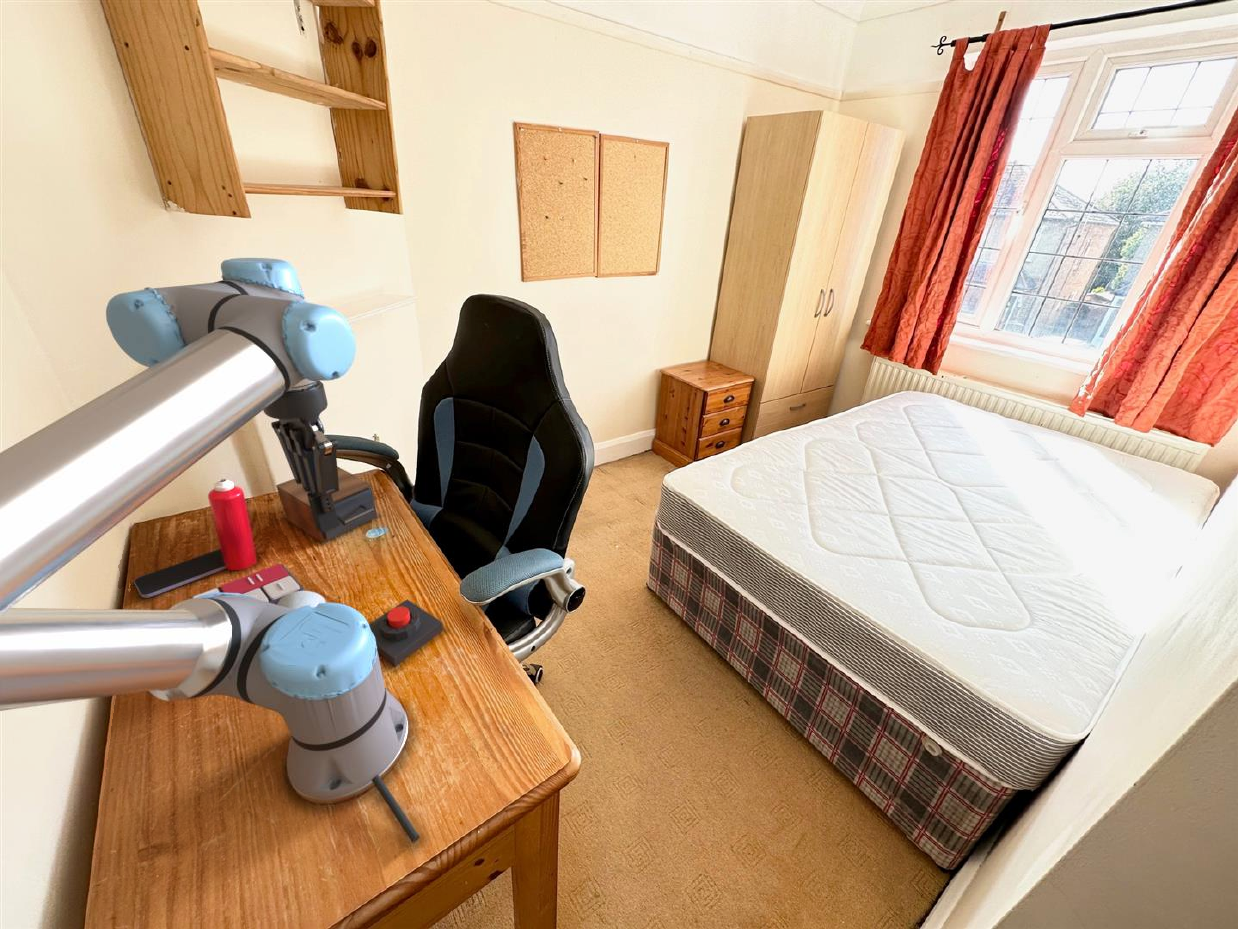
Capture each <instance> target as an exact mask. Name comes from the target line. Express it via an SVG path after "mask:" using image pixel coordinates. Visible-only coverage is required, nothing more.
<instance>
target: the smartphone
mask: <svg viewBox="0 0 1238 929" xmlns="http://www.w3.org/2000/svg"><path fill="white" fill-rule="evenodd" d="M226 569H227V568H226V567H225V564H224V560H223V556H222V552H221V548H218V549H215V550H213V551H210V552H207V553H204V554H201V555H198V556H196V557H192V558H190V559H187V560H184V561H181V562H178V563H176V564H172V565H169V566H167V567H164V568H160V569H158V570H155V571H152V572H149V573H146V574H144V575H141V576H138V577H137V578H135V579H134V580H133V583H134V585H135V588H136V589H137V592H138V594H139V595H140V596H141V598H142V599H149V598H151V597H155V596H158V595H161V594H162V593H165V592H168V591H170V590H171V591H172V590H173V589H176V588H178V587H181V586H184V585H186V584H189V583H192V582H195V581H197V580H200V579H202V578H205V577H208V576H210V575H213V574H215V573H219V572H220V571H223V570H226ZM227 570H228V569H227Z"/></svg>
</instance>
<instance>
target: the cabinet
mask: <svg viewBox="0 0 1238 929" xmlns="http://www.w3.org/2000/svg"><path fill="white" fill-rule="evenodd" d="M337 469H338V481H339V491H338V492H336V493H333V494H332V498H333V502H336V501H338V500H340V499H343V498H345V497H347V496H350V495H352V494H354V493H357V492H359V491H362V490H365V489H368V488H370V489H372V485H371V483H370V482H368V481H366V480H364V479H362V478H361V477H359V476H357V475H354V474H352V473H351V472H349V471H347V470H346V469H343V468H341V467H340V466H338V465H337ZM275 486H276V489H277V492H278V496H279V499H280V500H279V501H280V503H281V506H282V509H283V513H284V515H285V519H286V520H287V521H288V522H290V523H291V524H293V525H295V526H296V527H298V528H299V529H300V530H302V531H304V532H305V533H306V534H308V535H310V536H311V537H313V538H314V539H315V540H317V541H319V542H320V543H321V544H324V543H326V542H328V541H330V540H331V539H329V540H326V539H324V535H323V533H321V532H320V531H318V530H317V528H316V525H315V521H314V518H313V514H312V510H311V507H310V503H309V500H308V496H307V494H308V492H305V491H304V490H303V487H302V484H299V485H298V484H297V483H296V481H295V478H292V479H289V480H287V481H284V482H280V483H279V484H276V485H275ZM376 518H377V517H375V518H373V519H376ZM373 519H372V520H373ZM356 527H358V526H356ZM356 527H354V528H352V529H350V530H353V529H355V528H356ZM350 530H348V531H346V532H344V533H343V534H345V533H347V532H349V531H350Z"/></svg>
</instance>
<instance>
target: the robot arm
mask: <svg viewBox="0 0 1238 929" xmlns="http://www.w3.org/2000/svg"><path fill="white" fill-rule="evenodd" d="M220 270H221V276H220V277H221V279H222V280H217V281H214V282H205V283H197V284H196V283H194V284H187V285H186V284H185V285H184V284H183V285H176V286H174V285H173V286H165V287H155V288H153V287H150V286H148V287H144V288H143V289H139V290H133V291H127V292H121V293H118V294H116V295H114V296H113V297H111V298H110V299H109V301H108V302H107V305H106V308H105V318H106V323H107V326H108V328H109V331H110V333H111V335H112V338H113V339H114V341H115V342H116V344H117V345H118V347H119V348H120V349H121V350H122V351H123V352H124V353H125V354H126V355H127V356H128V357H129V358H131V359H132V360H133V361H134V362H136V363H137V364H139V365H141V366H143V367H145V368H146V369H144V370H142V371H141V372H139V373H137V374H136V375H134V376H132V377H130V378H129V379H127V380H124V381H123V382H121V383H119V384H118V385H116V386H114V387H112V388H110V389H109V390H108V391H106V392H104V393H102V394H101V395H98V396H97V397H96V398H93V399H92V400H90V401H88V402H87V403H85V404H83V405H81V406H79V407H78V408H75V409H74V410H72V411H71V412H69V413H67V414H66V415H63V416H62V417H60V418H58V419H57V420H54V421H53V422H51V423H50V424H48V425H46V426H45V427H43V428H41V429H39V430H37V431H36V432H34V433H33V434H31V435H29V436H27V437H25V438H23V439H21V440H20V441H18V442H16V443H15V444H13V445H11V446H10V447H8V448H6V449H4V450H3V451H0V712H3V711H10V710H18V709H26V708H32V707H40V706H41V707H42V706H49V705H54V704H55V705H56V704H63V703H69V702H77V701H84V700H85V701H86V700H92V699H99V698H106V697H113V696H120V695H127V694H129V695H130V694H137V693H141V692H143V693H144V692H149V693H150V694H151V695H152V696H154V697H155V698H157V699H159V700H162V701H165V702H177V701H178V702H179V701H185V700H191V699H198V698H204V697H210V696H225V697H226V696H227V697H230V698H232V699H237V700H240V701H243V702H246V703H248V704H251V705H255V706H258V707H261V708H263V709H266V710H269V711H272V712H275V713H278V714H279V715H280V716H281V717H282V718H283V720H284V722H285V725H286V726H287V727H286V728H287V730H288V732H289V734H290V738H289V744H288V749H287V750H288V751H287V756H286V771H287V776H288V779H289V780H288V781H289V782H290V784H291V786H292V788H293V791H294V792H295V793H296V794H297V795H298V796H299V797H300V798H302V799H303V800H305V801H308V802H310V803H313V804H317V805H319V804H320V805H331V804H338V803H343V802H346V801H349V800H352V799H354V798H356V797H358V796H360V795H363V794H365V793H366V792H368V791H369V790H371V789H373V788H374V787H375V788H376V790H377V791H378V792H379V794H380V795H381V797H382V798H383V800H384V802H385V803H386V804H387V806H388V808H389V809H390V811H391V812H392V814H393V815H394V817H395V818H396V820H397V822H398V823H399V825H400V827H401V828H402V829H403V831H404V832H405V834H406V836H408V839H410V841H411V843H412V844H413V843H416V842H417V841H418V840H419V839H420V834H419V833H418V832H417V830H416V829H415V827H414V825H413V824H412V823H411V821H410V820H409V818H408V817H407V815H406V814H405V812H404V810H403V809H402V807H401V806H400V805H399V803H398V801H397V800H396V798H395V797H394V796H393V794H392V793H391V791H390V790H389V788H388V787H387V785H386V784H385V782H384V781H383V780H384V779H385V778H386V777H387V776H388V775H389V774H390V773H391V772H392V771H393V769H394V768H395V767H396V766H397V764H398V763H399V761H400V759H401V758H402V756H403V754H404V752H405V749H406V747H407V745H408V741H409V732H410V727H409V721H408V716H407V714H406V711H405V709H404V707H403V705H402V704H401V703H400V701H399V700H398V699H397V698H396V697H395V696H394V695H392V693H391V692H389V690H388V689H387V687H386V684H385V680H384V675H383V670H382V666H381V661H380V657H379V656H380V655H379V654H378V651H377V645H376V639H375V637H374V634H373V633H372V632H371V629H370V626H369V624H370V623H369V622H368V620H367V619H366V617H365V616H364V614H362V613H361V612H360V611H358V610H357V609H356V608H354V607H351V606H349V605H347V604H344V603H340V602H339V603H338V602H326V603H319V604H318V605H317V606H316V607H311V606H310V605H307V606H303V607H301V608H298V609H295V610H294V609H290V608H286V607H283V606H279V605H276V604H272V603H269V602H265V601H261V600H258V599H255V598H252V597H250V596H248V595H244V594H239V593H211V594H206V595H202V596H199V597H197V598H192V597H191V598H192V599H190V598H188V599H185V600H181V601H179V602H177V603H175V604H174V605H172V606H171V607H169V608H168V609H118V608H117V609H116V608H115V609H114V608H113V609H111V608H110V609H109V608H107V609H106V608H104V609H103V608H48V607H47V608H43V607H42V608H41V607H14V606H15V605H17V603H19V602H20V601H21V600H23V599H24V598H25V597H26V596H28V595H29V594H30V593H32V592H33V591H35V590H36V589H37V588H38V587H39V586H40V585H42V584H43V583H44V582H46V581H47V580H48V579H49V578H51V577H52V576H53V575H54V574H56V573H57V572H58V571H60V570H61V569H62V568H63V567H65V566H66V565H67V564H69V563H70V562H71V561H72V560H74V559H75V558H76V557H78V556H80V554H81V553H82V552H84V551H85V550H86V549H88V548H89V547H90V546H92V545H93V544H94V543H95V542H97V541H98V540H100V539H101V538H102V537H103V536H104V535H106V534H107V533H108V532H110V531H111V530H112V529H113V528H115V527H116V526H117V525H118V524H120V523H121V522H122V521H124V520H125V519H126V518H127V517H129V516H130V515H131V514H133V513H134V512H135V511H136V510H137V509H139V508H140V507H142V506H143V505H144V504H145V503H146V502H148V501H149V500H150V499H151V498H153V497H154V496H155V495H157V494H158V493H160V492H161V491H163V489H164V488H166V487H167V486H168V485H169V484H171V483H172V482H173V481H174V480H176V479H177V478H178V477H179V476H181V475H182V474H184V473H185V472H186V471H188V469H190V468H191V467H193V466H194V465H196V463H197V462H199V461H200V460H201V459H203V458H204V457H205V456H207V455H208V454H209V453H210V452H212V450H214V449H215V448H217V447H218V446H220V445H221V444H222V443H223V442H225V441H227V439H228V438H229V437H231V436H232V435H233V434H234V433H236V432H237V431H239V430H240V429H241V428H242V427H243V426H245V425H246V424H248V423H249V422H250V421H251V420H253V419H254V418H255V417H256V416H257V415H259V414H260V413H261V412H263V413H264V415H266V416H267V417H269V418H271V419H275V421H272V422H271V423H270V425H271V428H272V430H273V431H274V433H275V435H276V437H277V438H278V441H279V443H280V446H281V448H282V451H283V454H284V456H285V459H286V461H287V463H288V466H289V469H290V471H291V473H292V476H293V479H295V481H296V483H297V484H298V485H299V484H302V487H303V490H304V491H305V492H308V494H307V496H308V500H309V503H310V507H311V510H312V514H313V518H314V521H315V525H316V528H317V530H318V531H320V532H321V533H323V532H325V531H327V530H329V529H332V528H334V527H336V526H338V525H339V522H338V518H337V514H336V510H335V506H334V502H333V498H332V494H333V493H336V492H338V491H339V481H338V469H337V466H338V459H337V451H338V448H339V443H338V441H337V439H335V438H331V439H328V437H326V435H325V428H324V425H323V423H322V421H321V418H320V415H321V414H322V412H324V411H325V410H326V409H328V405H329V404H328V399H327V395H326V390H325V384H324V383H323V382H322V381H328V382H330V381H334V380H337V379H340V378H341V377H343V376H344V375H345V374H346V373H347V372H348V371H349V370H350V369H351V367H352V364H353V363H354V360H355V356H356V347H357V346H356V344H357V343H356V337H355V335H354V332H353V331H352V327H351V326H350V323H349V321H348V320H347V319H346V317H345V316H344V315H343V314H341V313H340V312H339V311H338V310H336V309H334V308H333V307H330V306H327V305H322V304H317V303H314V302H313V303H312V302H308V301H307V300H305V294H304V292H303V289H302V286H301V282H300V279H299V276H298V273H297V270H296V268H295V267H294V266H293V264H291V262H289V261H287V260H283V259H278V258H269V257H267V258H266V257H235V258H230V259H224V260H223V261H222V262H221V263H220Z"/></svg>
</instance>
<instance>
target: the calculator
mask: <svg viewBox="0 0 1238 929" xmlns="http://www.w3.org/2000/svg"><path fill="white" fill-rule="evenodd" d="M296 591H305V589H304V587H303V586H302V584H300V583H299V582H298V580H297V579H296V578H295V577H294V576H293V575H292V574H291V572H290V571H289V570H288V568H287V567H286V566H284V564H281V563H277V564H274V565H272V566H269V567H266V568H264V569H261V570H259V571H256V572H253V573H251V574H248V575H245V576H242V577H240V578H237V579H234V580H231V581H229V582H226V583H224V584H221V585H220V586H218V587H215V588H212V589H210V590H207V591H205V592H201V593H200V594H196V595H194V596H192V597H190V598H189V599H192V598H197V597H199V596H202V595H206V594H211V593H239V594H244V595H248V596H250V597H252V598H255V599H258V600H261V601H265V602H269V603H272V604H276V605H277V604H278V602H279V601H280V599H281V598H283V597H284V596H285V595H287V594H290V593H292V592H296Z"/></svg>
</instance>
